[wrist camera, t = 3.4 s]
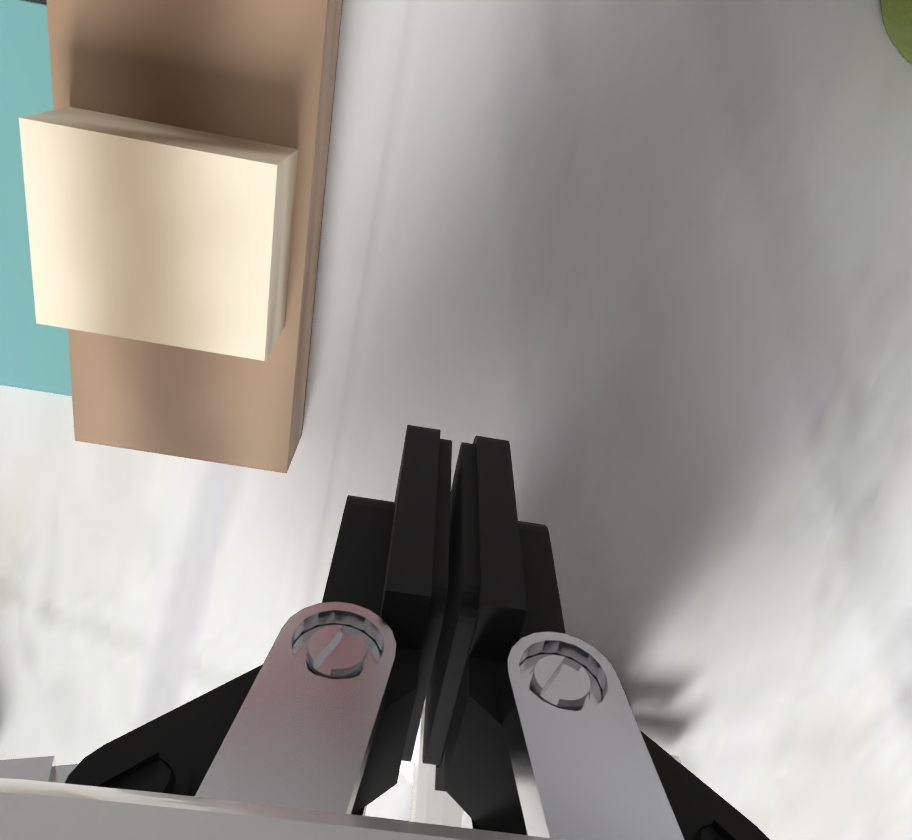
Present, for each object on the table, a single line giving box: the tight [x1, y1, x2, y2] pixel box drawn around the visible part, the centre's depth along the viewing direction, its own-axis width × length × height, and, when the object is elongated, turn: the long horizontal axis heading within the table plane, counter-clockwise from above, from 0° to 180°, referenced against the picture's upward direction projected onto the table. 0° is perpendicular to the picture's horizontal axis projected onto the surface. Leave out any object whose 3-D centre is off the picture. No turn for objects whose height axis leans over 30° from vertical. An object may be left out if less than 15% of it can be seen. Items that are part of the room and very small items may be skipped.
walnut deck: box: [46, 0, 343, 473], centre depth 26 cm, size 8×18×3 cm, turn 170°
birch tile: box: [19, 107, 298, 361], centre depth 23 cm, size 7×6×3 cm
